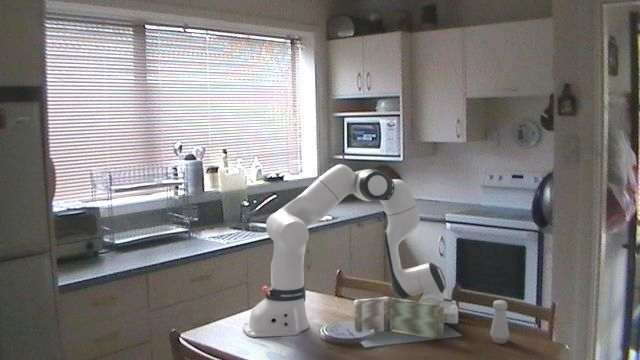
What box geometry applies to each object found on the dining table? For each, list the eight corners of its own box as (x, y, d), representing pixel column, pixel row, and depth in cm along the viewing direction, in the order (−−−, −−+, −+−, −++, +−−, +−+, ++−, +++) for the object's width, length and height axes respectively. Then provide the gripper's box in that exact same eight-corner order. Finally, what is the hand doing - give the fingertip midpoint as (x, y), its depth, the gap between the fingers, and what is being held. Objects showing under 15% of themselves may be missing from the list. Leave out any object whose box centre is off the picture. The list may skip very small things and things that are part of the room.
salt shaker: (499, 345, 189) (499, 304, 188) (486, 340, 194) (486, 300, 193) (513, 342, 192) (513, 302, 191) (499, 336, 197) (500, 297, 196)
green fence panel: (390, 330, 202) (390, 298, 201) (392, 328, 204) (392, 297, 203) (442, 339, 193) (442, 306, 192) (444, 337, 194) (444, 305, 193)
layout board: (365, 348, 189) (365, 346, 189) (346, 329, 206) (346, 327, 206) (461, 336, 198) (461, 334, 198) (435, 319, 215) (435, 317, 215)
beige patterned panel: (356, 335, 199) (355, 301, 198) (353, 332, 202) (353, 299, 201) (391, 330, 203) (391, 298, 202) (388, 328, 205) (388, 296, 204)
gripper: (400, 296, 214) (392, 308, 200) (460, 301, 207) (456, 313, 194) (400, 314, 214) (392, 327, 201) (460, 319, 208) (455, 333, 195)
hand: (424, 320), depth 197 cm, fingers closed
